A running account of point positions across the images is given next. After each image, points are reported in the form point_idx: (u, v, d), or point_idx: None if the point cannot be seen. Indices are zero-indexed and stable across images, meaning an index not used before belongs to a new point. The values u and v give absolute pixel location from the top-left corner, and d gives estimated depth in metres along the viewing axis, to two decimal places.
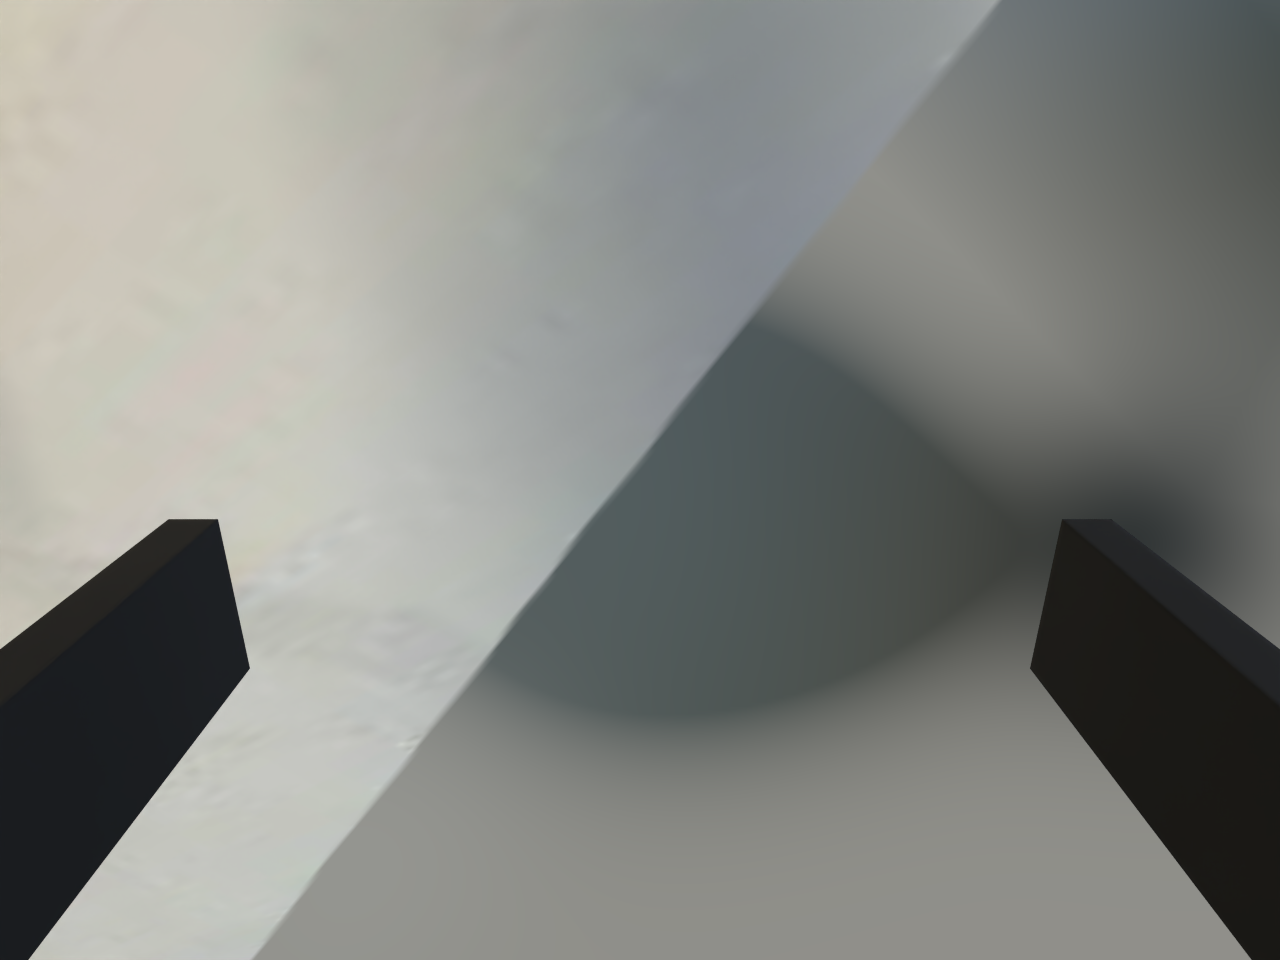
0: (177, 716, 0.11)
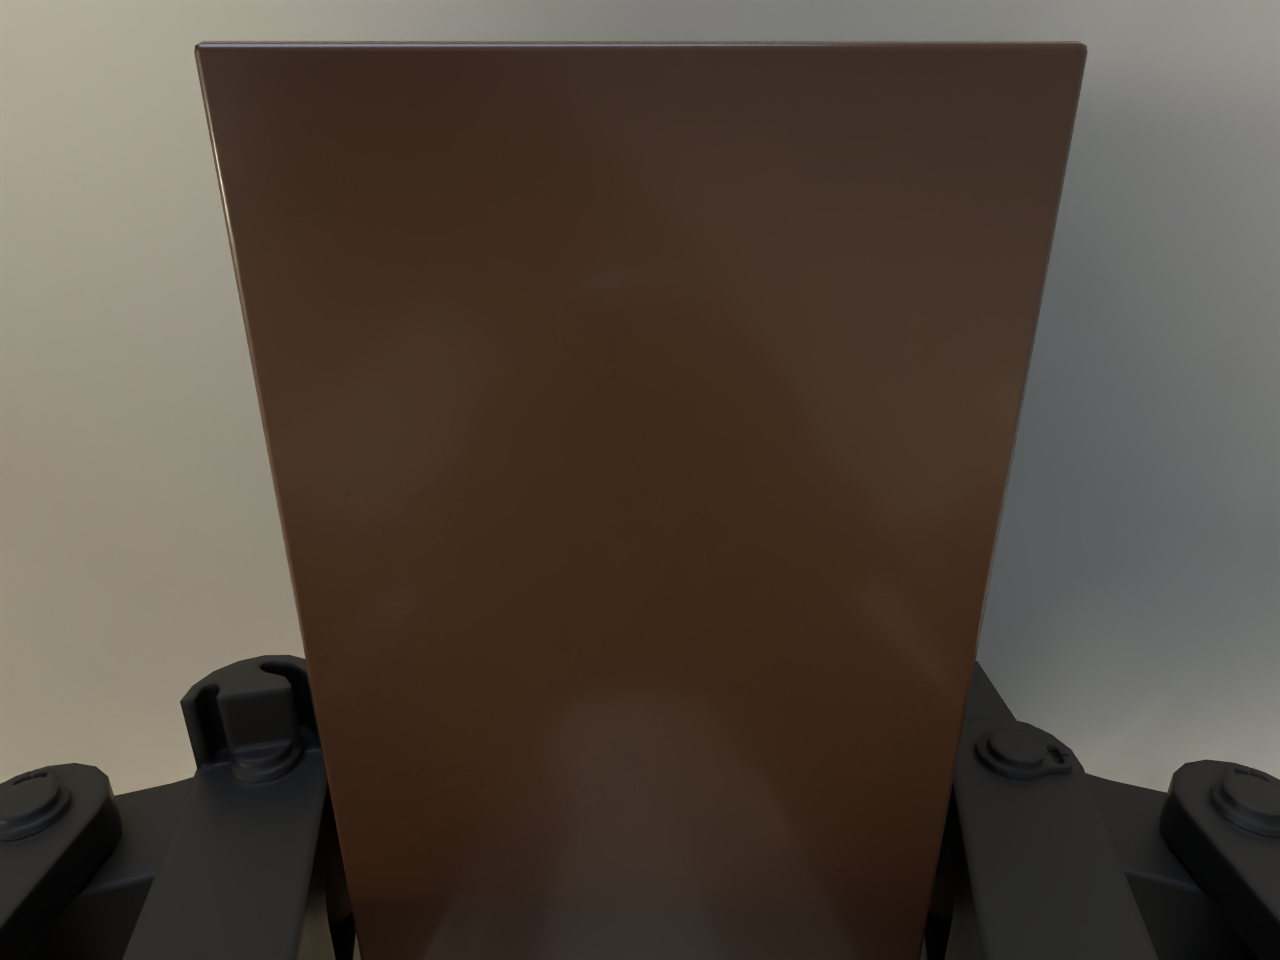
0: None
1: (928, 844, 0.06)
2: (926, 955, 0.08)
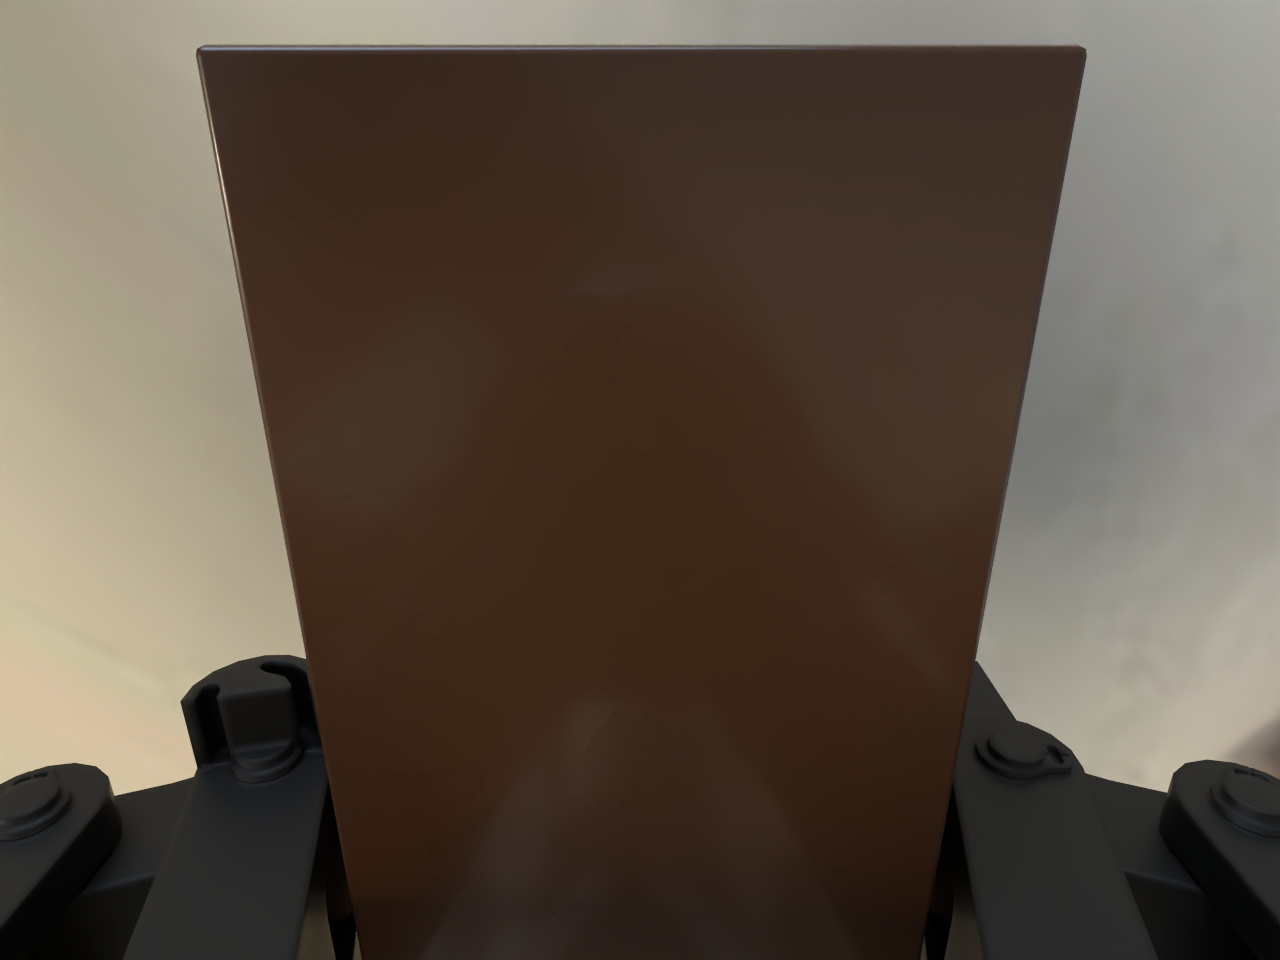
0: None
1: (928, 845, 0.06)
2: (926, 955, 0.08)
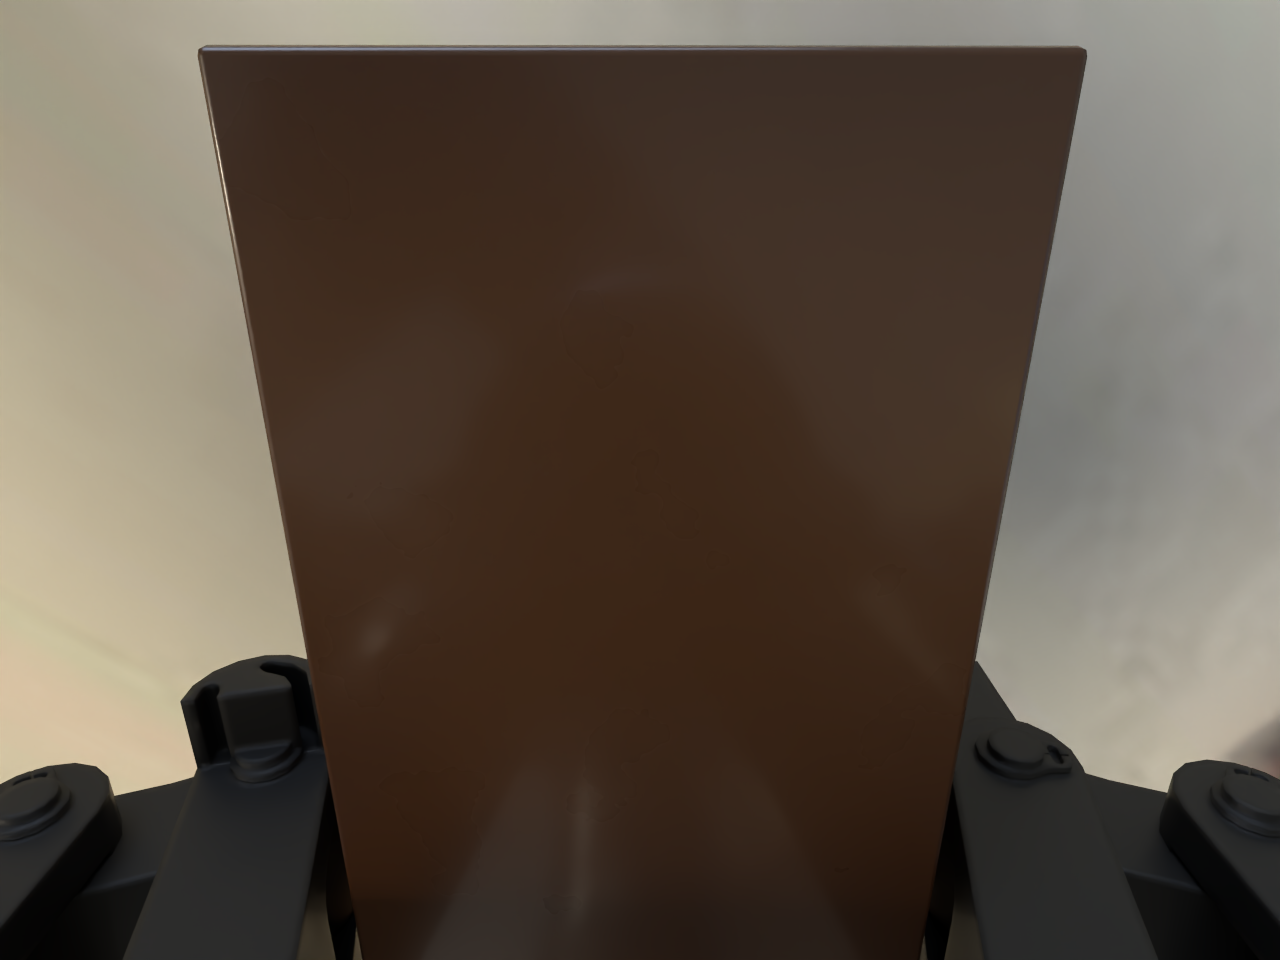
0: None
1: (928, 844, 0.06)
2: (926, 955, 0.08)
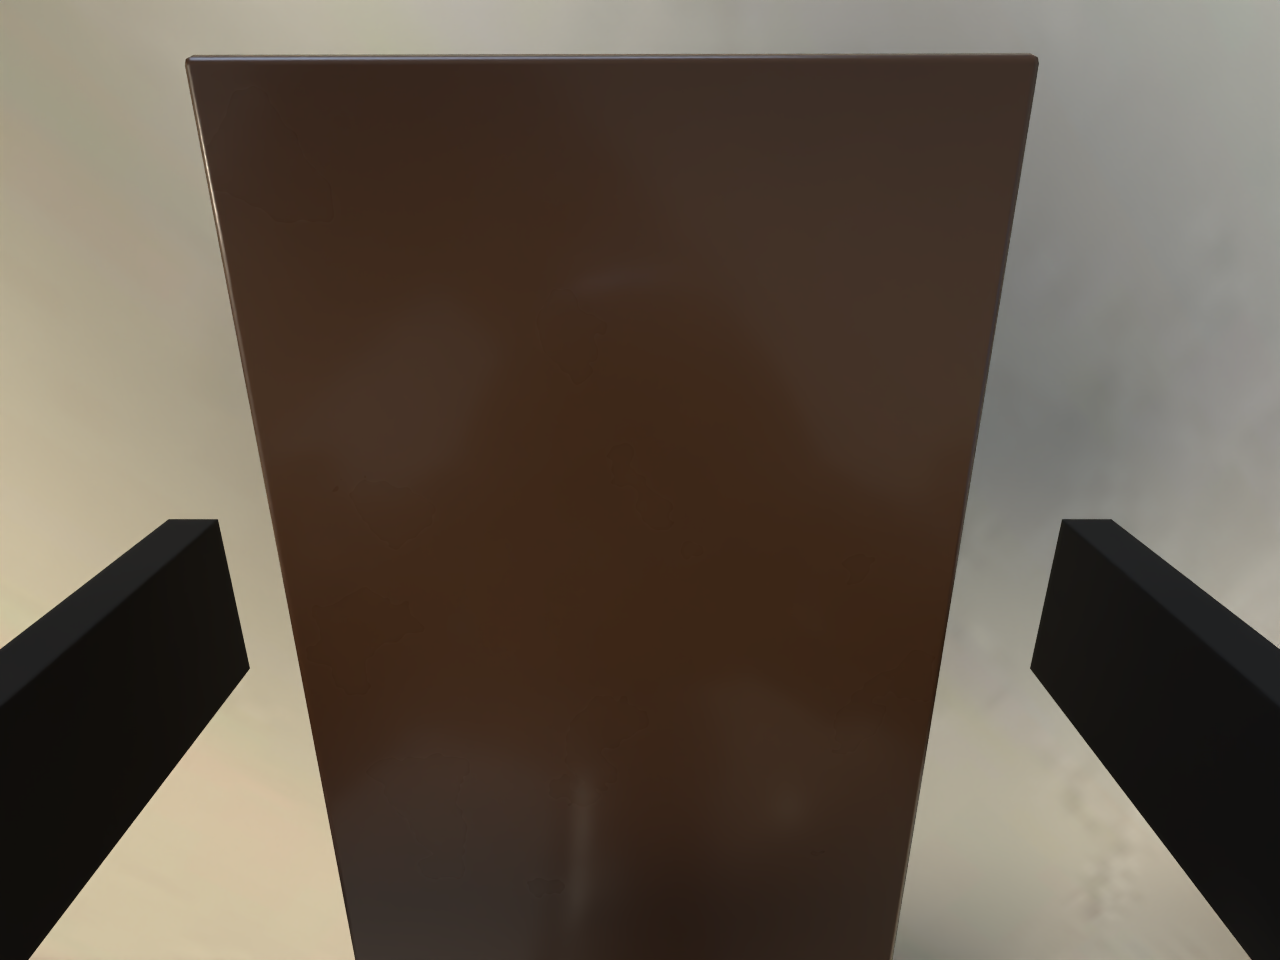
0: (177, 716, 0.11)
1: (901, 827, 0.06)
2: None
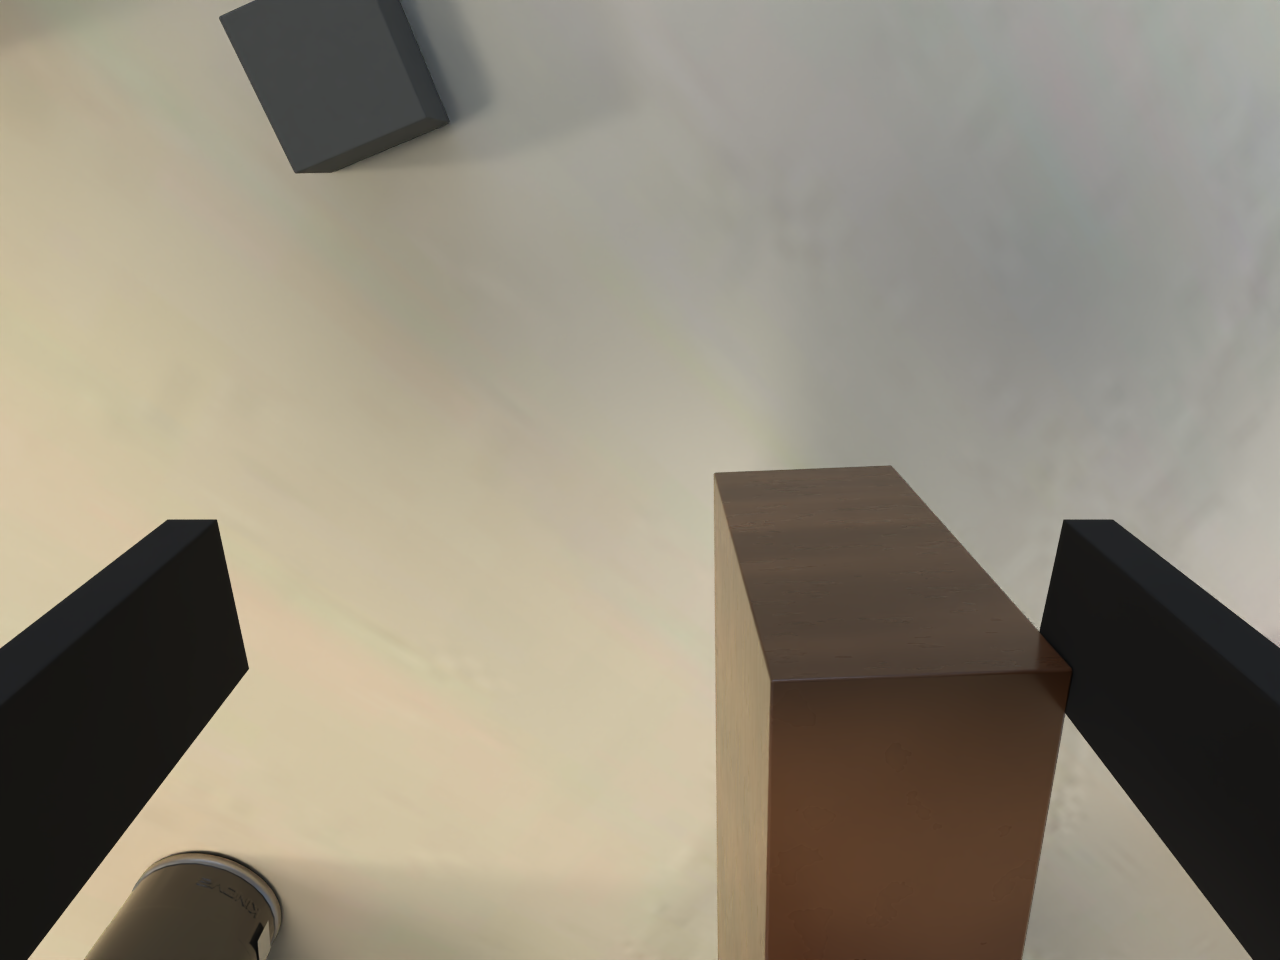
0: (176, 717, 0.11)
1: (1021, 931, 0.14)
2: None
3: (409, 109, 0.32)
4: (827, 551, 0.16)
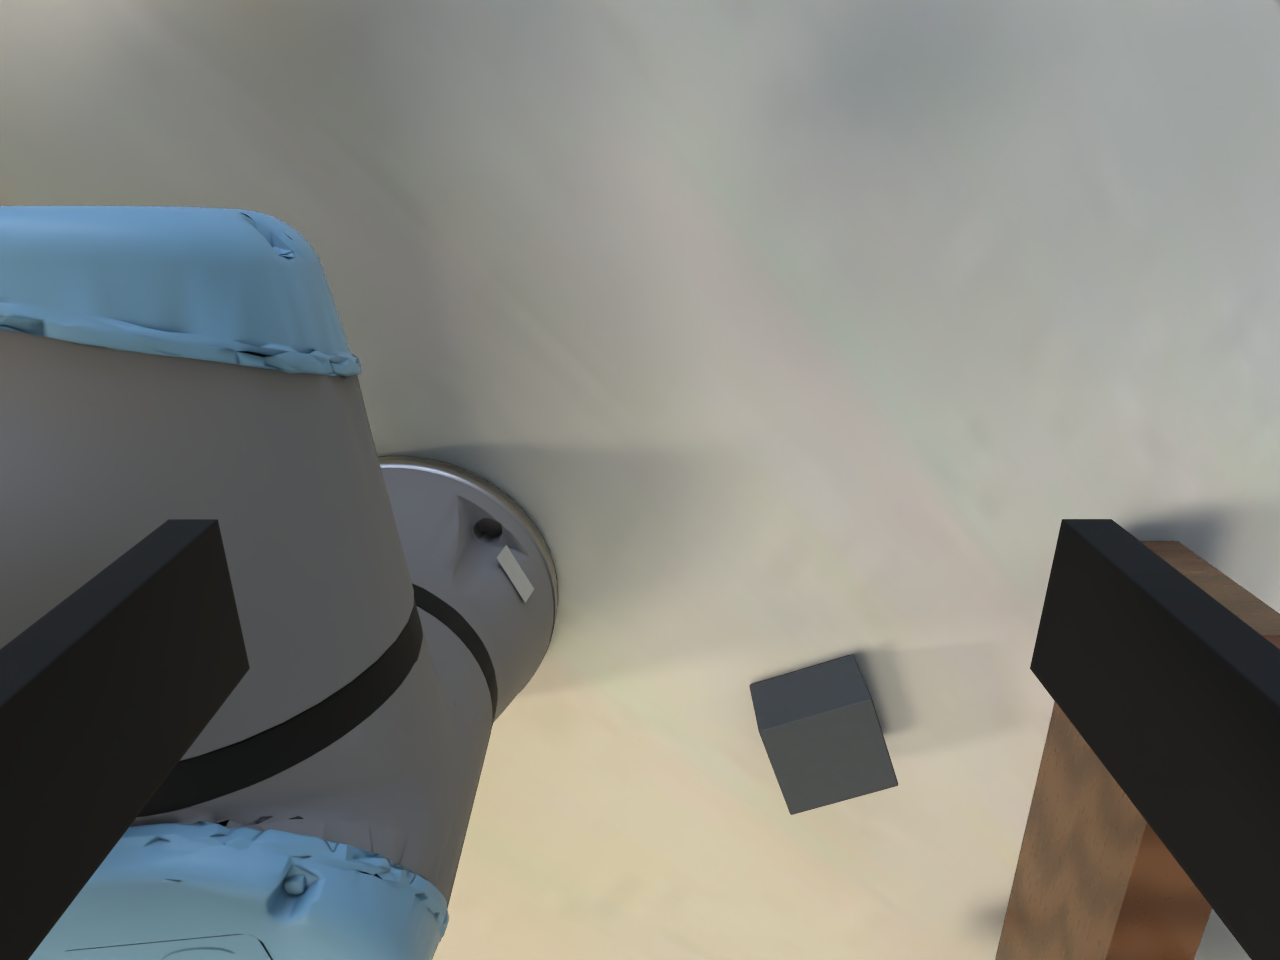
0: (177, 716, 0.11)
1: None
2: None
3: (886, 781, 0.43)
4: None
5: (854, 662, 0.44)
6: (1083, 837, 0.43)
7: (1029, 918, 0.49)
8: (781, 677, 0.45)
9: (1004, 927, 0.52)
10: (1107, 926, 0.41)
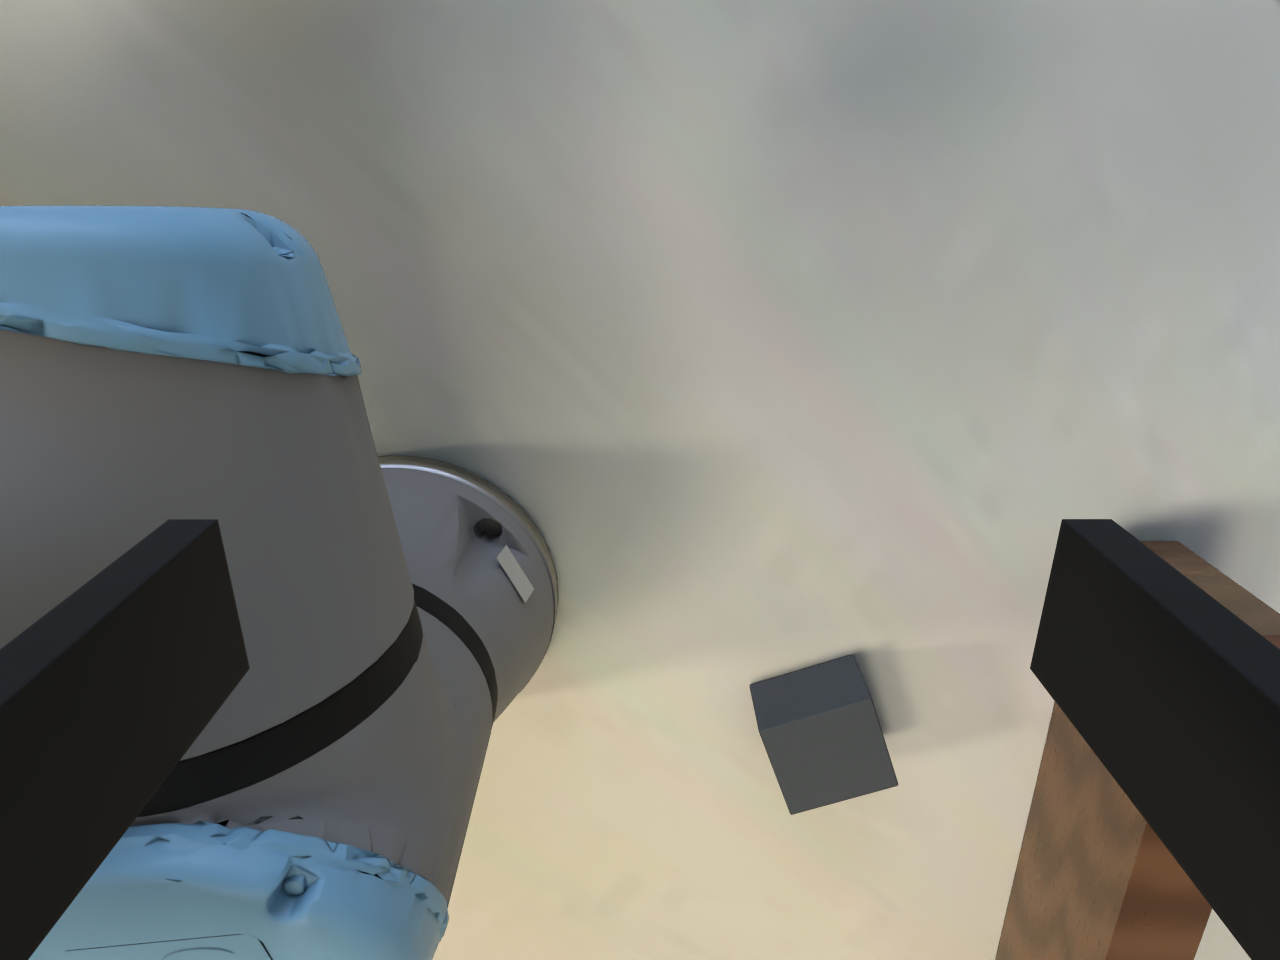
0: (177, 716, 0.11)
1: None
2: None
3: (886, 781, 0.43)
4: None
5: (854, 662, 0.44)
6: (1083, 837, 0.43)
7: (1029, 918, 0.49)
8: (781, 677, 0.45)
9: (1004, 927, 0.52)
10: (1107, 926, 0.41)
